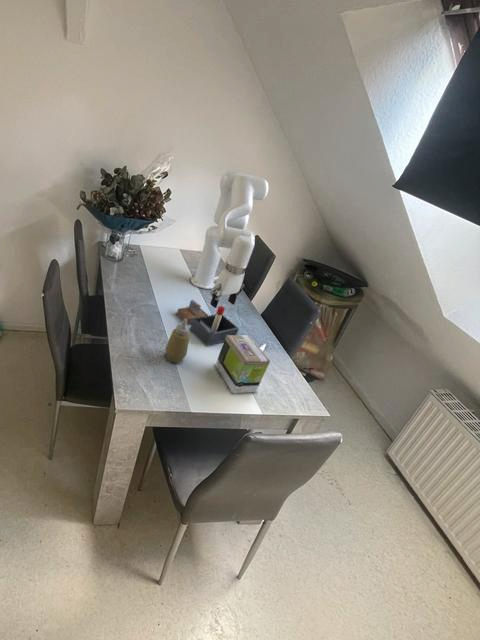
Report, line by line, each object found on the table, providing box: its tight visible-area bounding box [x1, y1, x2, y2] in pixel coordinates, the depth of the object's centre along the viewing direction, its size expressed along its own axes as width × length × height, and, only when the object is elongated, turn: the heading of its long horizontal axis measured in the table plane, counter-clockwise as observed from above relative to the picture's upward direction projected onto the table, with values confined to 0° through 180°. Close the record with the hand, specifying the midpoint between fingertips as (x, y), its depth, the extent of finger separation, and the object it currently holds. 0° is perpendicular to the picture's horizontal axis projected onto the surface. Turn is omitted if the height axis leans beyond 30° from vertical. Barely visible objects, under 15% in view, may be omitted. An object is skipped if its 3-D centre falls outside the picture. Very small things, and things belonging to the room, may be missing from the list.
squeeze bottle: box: [165, 319, 191, 364], centre depth 141 cm, size 8×8×18 cm
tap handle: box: [188, 299, 202, 315], centre depth 170 cm, size 6×2×5 cm, turn 28°
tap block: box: [176, 305, 209, 325], centre depth 172 cm, size 11×10×3 cm
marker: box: [210, 305, 225, 333], centre depth 160 cm, size 3×3×13 cm
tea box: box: [215, 334, 271, 394], centre depth 138 cm, size 15×10×15 cm, turn 12°
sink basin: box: [189, 313, 239, 347], centre depth 163 cm, size 16×12×6 cm
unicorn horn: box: [258, 343, 267, 353], centre depth 153 cm, size 5×24×5 cm, turn 139°
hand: (222, 304), depth 157 cm, fingers open, 9 cm apart
